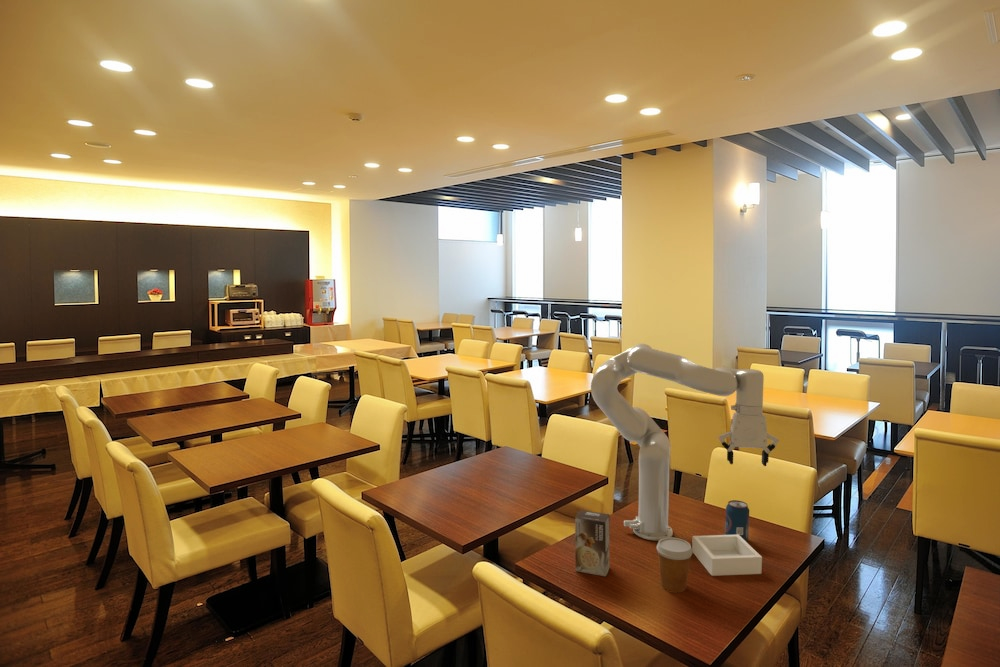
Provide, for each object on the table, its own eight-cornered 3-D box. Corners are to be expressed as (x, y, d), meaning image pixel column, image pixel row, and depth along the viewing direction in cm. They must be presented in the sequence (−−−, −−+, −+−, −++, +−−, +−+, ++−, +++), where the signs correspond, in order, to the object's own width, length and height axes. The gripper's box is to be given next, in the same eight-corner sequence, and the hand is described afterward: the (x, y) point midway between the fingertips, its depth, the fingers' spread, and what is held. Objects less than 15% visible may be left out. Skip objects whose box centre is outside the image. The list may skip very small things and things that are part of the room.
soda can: (722, 534, 192) (723, 498, 190) (744, 535, 191) (746, 499, 189) (727, 544, 185) (729, 507, 183) (750, 545, 184) (752, 508, 182)
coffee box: (610, 566, 171) (611, 513, 169) (605, 577, 165) (606, 522, 163) (579, 561, 174) (579, 509, 173) (574, 571, 168) (574, 517, 167)
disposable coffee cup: (686, 599, 154) (687, 556, 152) (650, 589, 159) (651, 547, 157) (695, 583, 162) (696, 541, 160) (661, 574, 167) (662, 533, 165)
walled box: (711, 575, 166) (712, 558, 165) (692, 551, 180) (692, 535, 179) (761, 573, 166) (762, 557, 166) (737, 549, 181) (738, 534, 180)
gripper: (721, 411, 178) (719, 466, 180) (782, 413, 174) (780, 469, 176) (717, 406, 185) (716, 458, 187) (776, 408, 182) (774, 461, 184)
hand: (747, 463), depth 182 cm, fingers open, 9 cm apart
